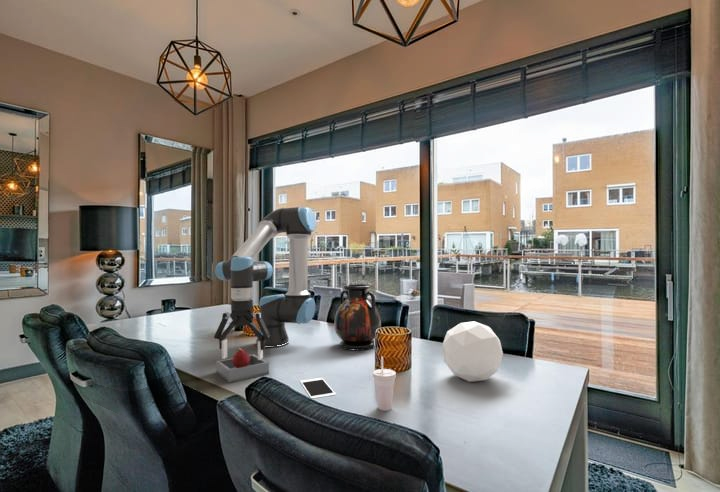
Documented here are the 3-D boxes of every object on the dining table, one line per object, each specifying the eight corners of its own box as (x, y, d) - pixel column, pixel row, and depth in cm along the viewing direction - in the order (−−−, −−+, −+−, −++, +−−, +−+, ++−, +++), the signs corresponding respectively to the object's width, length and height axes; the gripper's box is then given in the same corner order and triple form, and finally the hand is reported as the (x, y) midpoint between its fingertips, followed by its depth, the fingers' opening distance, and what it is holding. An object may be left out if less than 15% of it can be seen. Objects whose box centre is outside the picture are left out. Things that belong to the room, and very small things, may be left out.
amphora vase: (324, 348, 164) (323, 286, 164) (352, 338, 181) (351, 282, 182) (364, 355, 151) (363, 288, 152) (389, 344, 169) (389, 284, 170)
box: (253, 364, 141) (253, 354, 141) (268, 373, 130) (268, 362, 130) (216, 372, 132) (216, 361, 132) (229, 382, 121) (229, 370, 121)
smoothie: (372, 403, 103) (371, 353, 103) (394, 402, 103) (393, 353, 104) (374, 413, 96) (374, 360, 97) (398, 412, 97) (397, 359, 97)
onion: (250, 367, 134) (249, 345, 135) (249, 371, 129) (248, 348, 129) (234, 369, 133) (232, 347, 133) (232, 374, 127) (231, 351, 128)
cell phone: (322, 379, 124) (322, 377, 124) (336, 396, 109) (336, 394, 109) (299, 382, 122) (299, 380, 122) (311, 400, 107) (311, 398, 107)
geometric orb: (476, 405, 116) (464, 366, 107) (438, 367, 133) (424, 330, 123) (519, 371, 121) (512, 330, 111) (477, 338, 138) (467, 300, 128)
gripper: (203, 300, 129) (204, 360, 129) (271, 300, 126) (271, 362, 126) (214, 298, 137) (215, 354, 136) (278, 298, 134) (279, 356, 133)
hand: (242, 358), depth 131 cm, fingers open, 13 cm apart
